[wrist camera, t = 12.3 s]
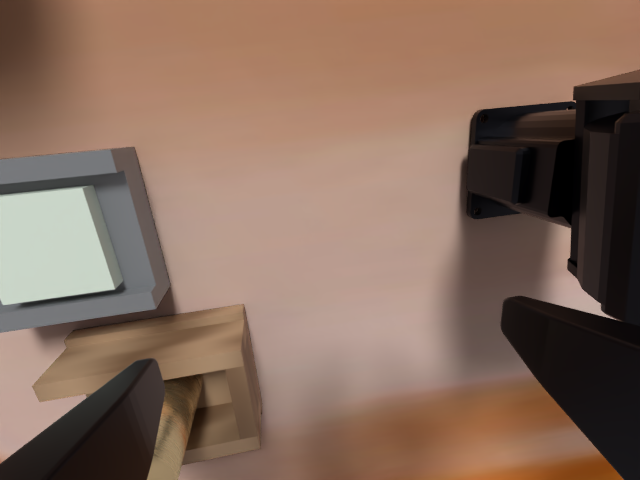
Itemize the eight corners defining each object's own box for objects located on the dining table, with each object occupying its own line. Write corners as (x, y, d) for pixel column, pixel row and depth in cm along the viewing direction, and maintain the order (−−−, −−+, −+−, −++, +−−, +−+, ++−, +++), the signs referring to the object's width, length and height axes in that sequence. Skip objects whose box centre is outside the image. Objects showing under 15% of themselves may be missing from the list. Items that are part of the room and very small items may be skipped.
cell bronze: (196, 349, 20) (161, 458, 13) (208, 399, 21) (181, 520, 15) (130, 360, 20) (60, 477, 13) (146, 409, 21) (90, 539, 14)
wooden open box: (243, 304, 21) (239, 342, 17) (262, 403, 23) (261, 454, 20) (73, 330, 20) (28, 377, 16) (112, 431, 22) (82, 492, 18)
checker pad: (93, 184, 15) (82, 188, 14) (123, 280, 17) (114, 289, 16) (-25, 197, 15) (-45, 201, 14) (18, 295, 16) (3, 305, 16)
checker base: (134, 146, 17) (110, 149, 14) (170, 285, 20) (156, 309, 17) (-39, 162, 16) (-98, 168, 13) (24, 306, 19) (-16, 335, 16)
